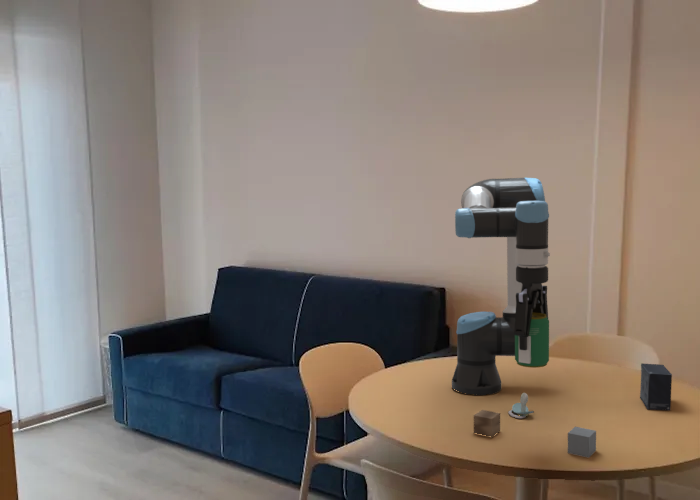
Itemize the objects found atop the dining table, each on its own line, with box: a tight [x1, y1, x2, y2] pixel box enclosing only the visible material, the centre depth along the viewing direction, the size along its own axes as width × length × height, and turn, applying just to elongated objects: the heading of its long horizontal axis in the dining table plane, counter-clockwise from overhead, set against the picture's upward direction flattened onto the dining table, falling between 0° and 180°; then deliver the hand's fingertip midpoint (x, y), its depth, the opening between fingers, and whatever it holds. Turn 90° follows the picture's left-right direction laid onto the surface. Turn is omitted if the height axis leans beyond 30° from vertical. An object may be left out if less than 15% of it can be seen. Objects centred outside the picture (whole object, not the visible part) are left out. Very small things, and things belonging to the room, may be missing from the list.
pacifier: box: [508, 392, 534, 419], centre depth 190 cm, size 7×6×6 cm
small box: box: [639, 363, 673, 412], centre depth 195 cm, size 11×6×10 cm, turn 168°
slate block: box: [567, 426, 597, 458], centre depth 164 cm, size 5×5×5 cm
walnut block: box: [473, 409, 501, 438], centre depth 178 cm, size 5×5×5 cm
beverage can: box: [514, 312, 550, 368], centre depth 168 cm, size 8×8×12 cm
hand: (531, 358), depth 169 cm, fingers closed on beverage can, 8 cm apart
